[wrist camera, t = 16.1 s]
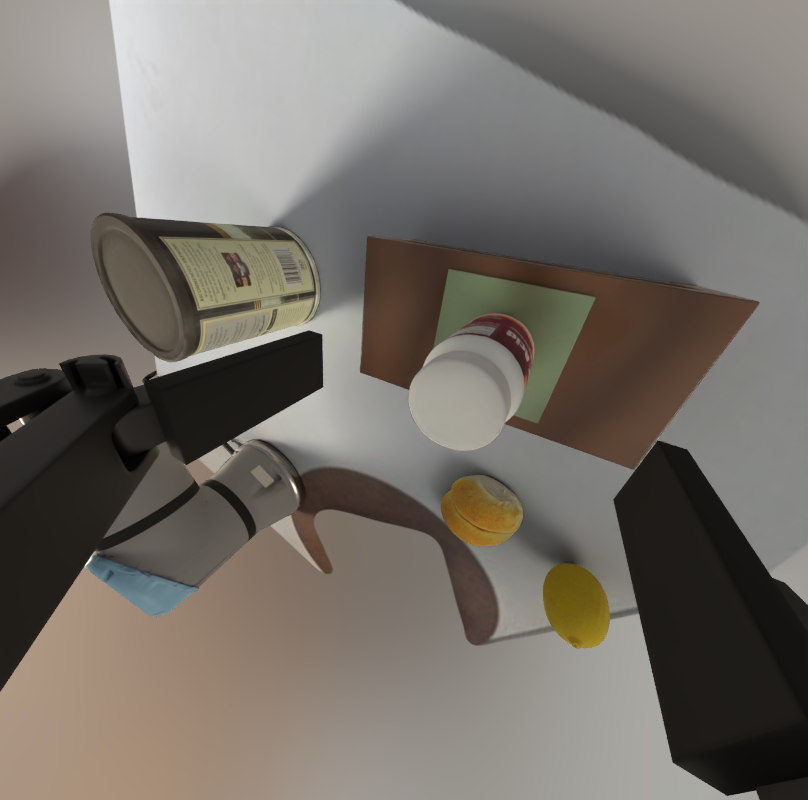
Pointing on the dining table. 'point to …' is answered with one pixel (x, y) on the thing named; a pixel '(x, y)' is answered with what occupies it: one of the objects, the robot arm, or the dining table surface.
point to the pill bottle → (472, 382)
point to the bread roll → (481, 510)
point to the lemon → (576, 605)
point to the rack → (554, 337)
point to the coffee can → (202, 281)
